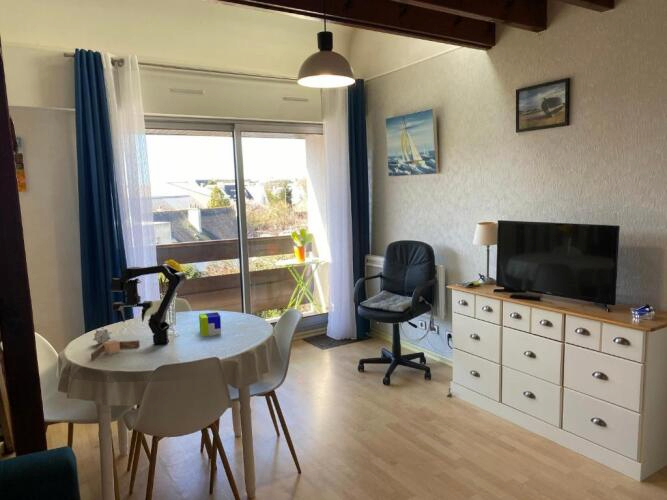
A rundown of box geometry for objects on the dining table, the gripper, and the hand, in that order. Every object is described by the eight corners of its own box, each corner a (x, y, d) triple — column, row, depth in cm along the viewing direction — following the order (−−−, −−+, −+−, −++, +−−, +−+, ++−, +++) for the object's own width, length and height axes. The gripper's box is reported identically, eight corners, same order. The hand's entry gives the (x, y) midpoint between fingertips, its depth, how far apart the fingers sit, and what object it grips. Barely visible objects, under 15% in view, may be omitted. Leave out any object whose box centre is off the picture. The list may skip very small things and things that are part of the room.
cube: (114, 349, 245) (113, 339, 245) (120, 351, 242) (119, 341, 242) (104, 352, 241) (104, 342, 241) (110, 354, 238) (109, 344, 238)
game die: (100, 352, 254) (86, 339, 249) (102, 341, 262) (89, 329, 256) (115, 343, 254) (102, 330, 249) (117, 333, 262) (104, 320, 256)
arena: (139, 346, 251) (139, 340, 251) (130, 358, 233) (129, 351, 232) (103, 348, 248) (103, 342, 248) (91, 360, 230) (90, 354, 230)
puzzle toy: (221, 334, 270) (220, 316, 269) (202, 336, 267) (201, 318, 265) (218, 329, 279) (217, 312, 278) (200, 331, 276) (199, 314, 275)
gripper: (154, 288, 263) (155, 317, 265) (117, 289, 261) (118, 318, 262) (149, 292, 252) (151, 322, 254) (110, 293, 250) (112, 324, 251)
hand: (133, 321), depth 256 cm, fingers open, 9 cm apart
